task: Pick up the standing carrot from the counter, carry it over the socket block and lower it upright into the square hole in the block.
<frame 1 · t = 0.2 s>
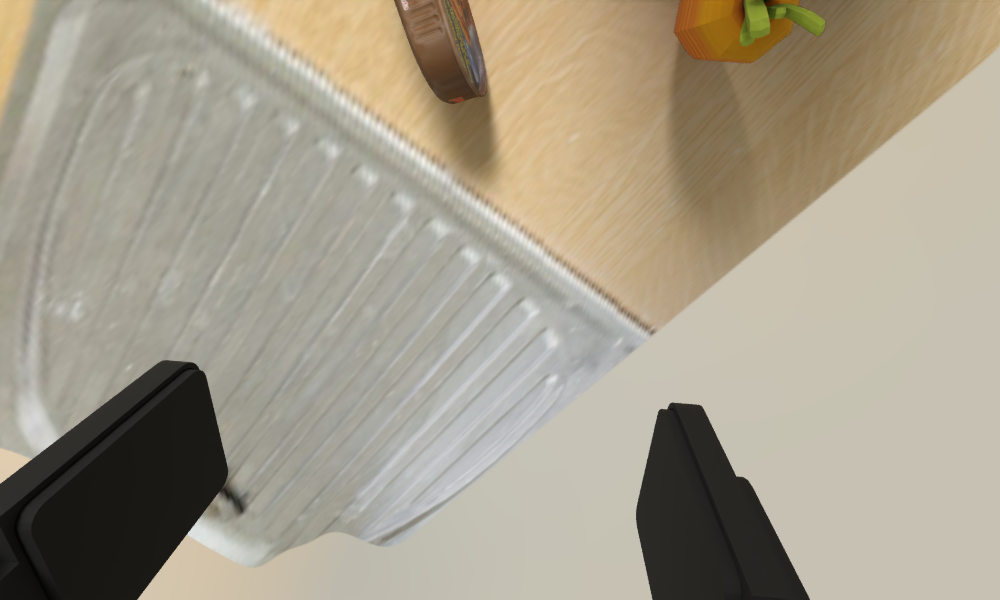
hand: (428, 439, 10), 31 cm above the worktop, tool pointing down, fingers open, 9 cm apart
carrot: (688, 25, 33), on the worktop
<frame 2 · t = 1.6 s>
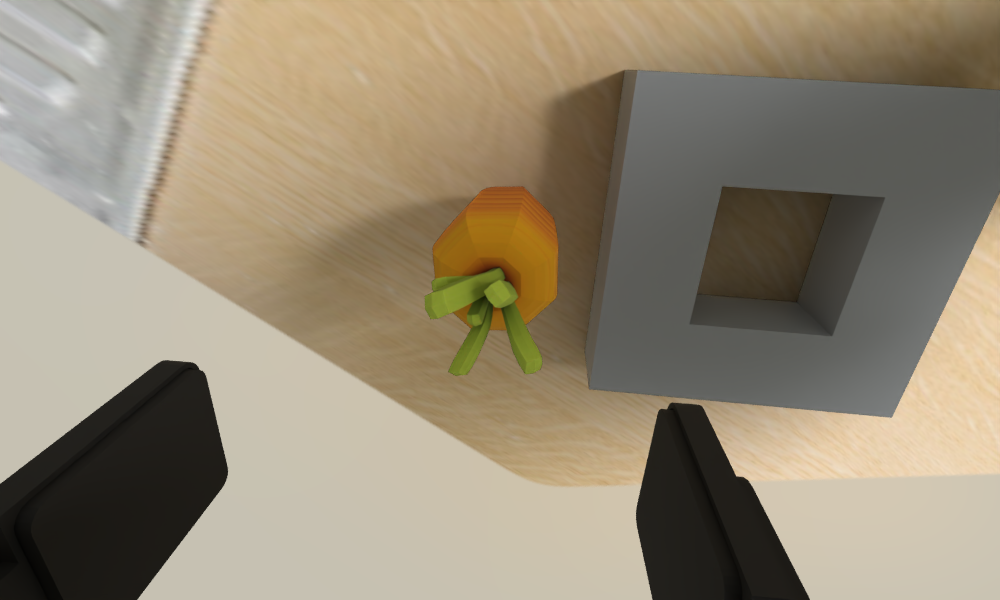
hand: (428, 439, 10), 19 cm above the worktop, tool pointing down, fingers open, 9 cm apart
socket block: (749, 239, 27), on the worktop
carrot: (513, 203, 28), on the worktop
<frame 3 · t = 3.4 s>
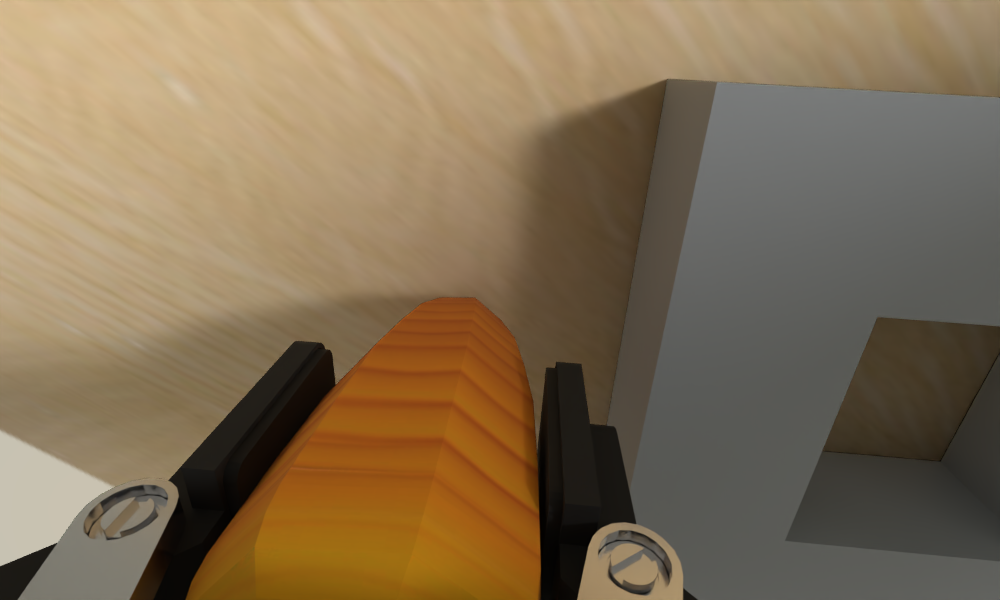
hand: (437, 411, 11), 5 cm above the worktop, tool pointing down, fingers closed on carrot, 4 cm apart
socket block: (873, 367, 16), on the worktop
carrot: (469, 305, 16), on the worktop, touching gripper
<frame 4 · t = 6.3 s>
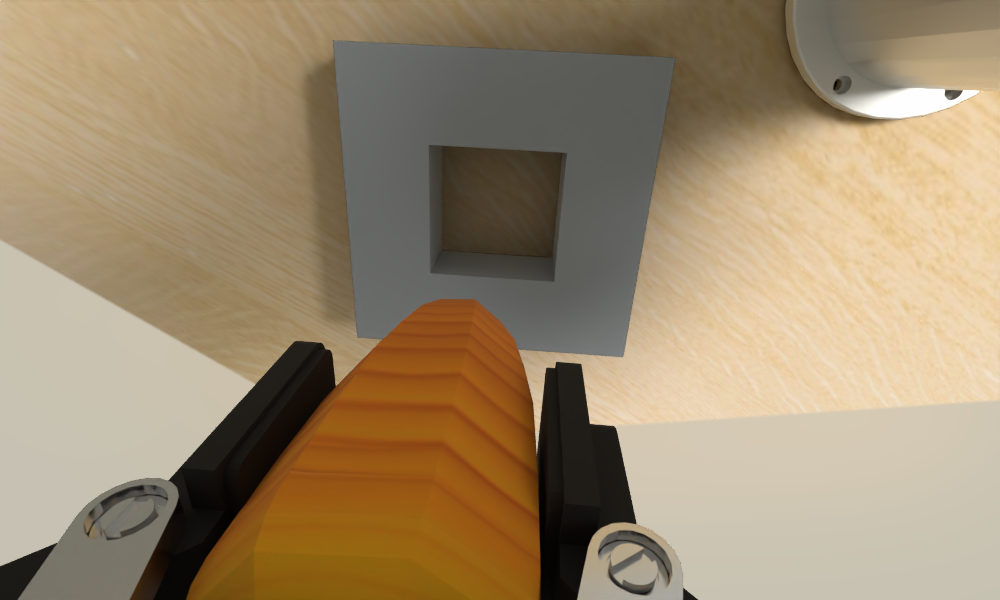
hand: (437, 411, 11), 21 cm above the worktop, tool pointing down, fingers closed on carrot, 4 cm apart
socket block: (499, 199, 30), on the worktop
carrot: (469, 306, 16), point 15 cm above the worktop, touching gripper
when the fingers open (6 cm above the worktop, at t = 9.1 s): carrot stays where it is, on the worktop.
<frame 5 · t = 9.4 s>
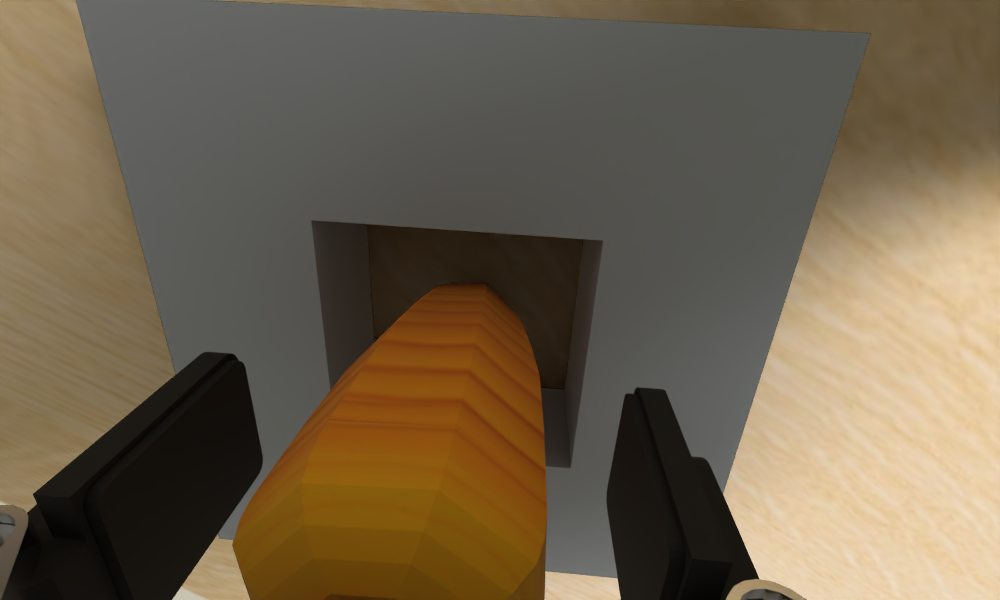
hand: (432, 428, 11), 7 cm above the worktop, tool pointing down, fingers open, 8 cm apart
socket block: (472, 295, 17), on the worktop
carrot: (477, 291, 17), on the worktop
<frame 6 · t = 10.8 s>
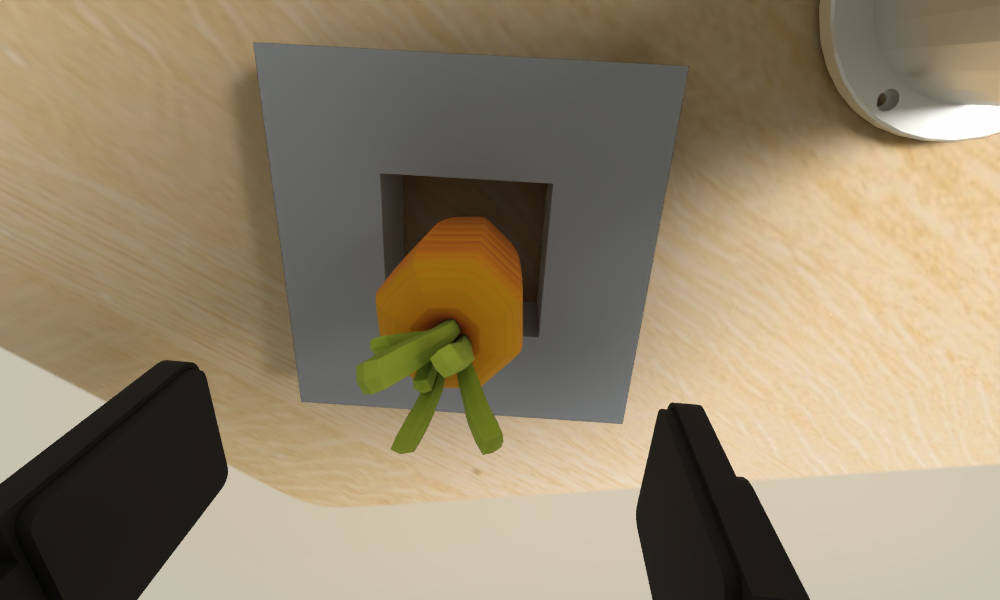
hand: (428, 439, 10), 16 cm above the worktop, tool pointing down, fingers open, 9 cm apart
socket block: (473, 234, 25), on the worktop
carrot: (476, 232, 25), on the worktop
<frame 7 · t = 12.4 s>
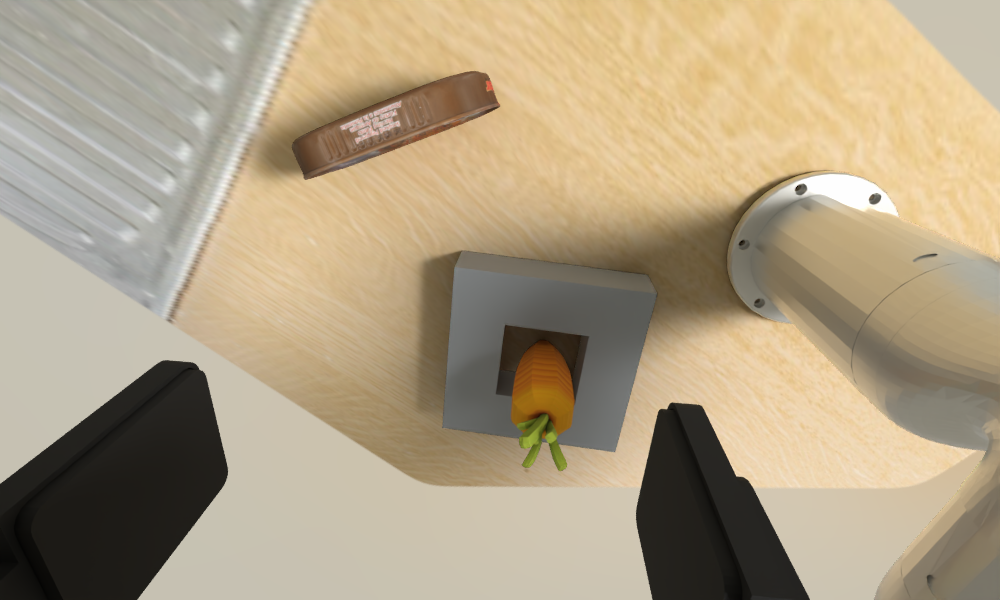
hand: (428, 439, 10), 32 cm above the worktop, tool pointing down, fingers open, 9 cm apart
tin: (409, 121, 39), on the worktop
socket block: (541, 343, 46), on the worktop
carrot: (542, 341, 46), on the worktop
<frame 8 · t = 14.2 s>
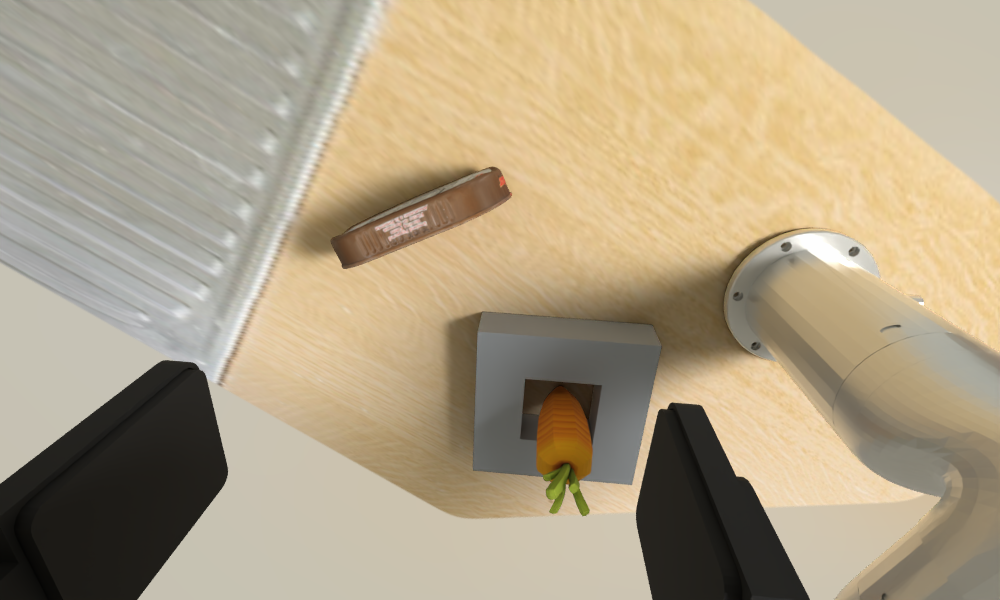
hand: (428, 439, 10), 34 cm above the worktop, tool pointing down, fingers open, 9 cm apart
tin: (430, 203, 44), on the worktop
socket block: (558, 388, 50), on the worktop
carrot: (559, 386, 51), on the worktop
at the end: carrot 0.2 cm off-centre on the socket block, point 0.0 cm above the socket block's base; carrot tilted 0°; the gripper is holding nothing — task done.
